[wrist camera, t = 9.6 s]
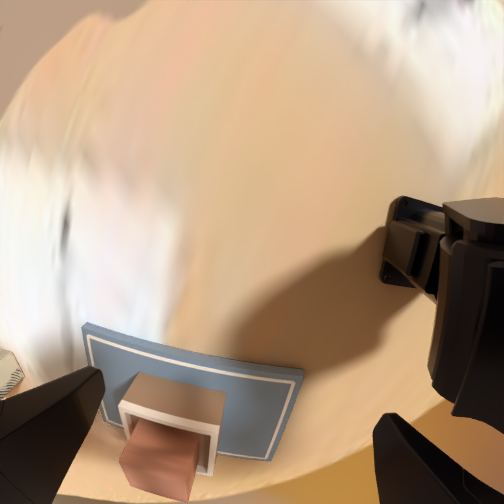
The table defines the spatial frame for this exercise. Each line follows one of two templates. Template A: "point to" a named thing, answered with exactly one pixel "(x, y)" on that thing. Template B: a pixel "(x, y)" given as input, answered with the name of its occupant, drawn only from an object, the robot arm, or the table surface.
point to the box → (8, 372)
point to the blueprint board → (241, 396)
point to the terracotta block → (161, 459)
